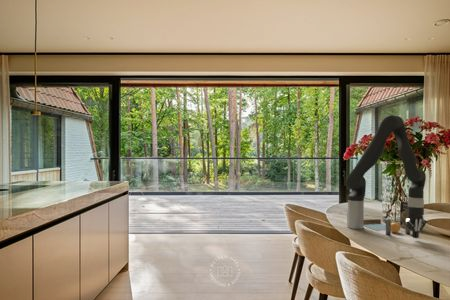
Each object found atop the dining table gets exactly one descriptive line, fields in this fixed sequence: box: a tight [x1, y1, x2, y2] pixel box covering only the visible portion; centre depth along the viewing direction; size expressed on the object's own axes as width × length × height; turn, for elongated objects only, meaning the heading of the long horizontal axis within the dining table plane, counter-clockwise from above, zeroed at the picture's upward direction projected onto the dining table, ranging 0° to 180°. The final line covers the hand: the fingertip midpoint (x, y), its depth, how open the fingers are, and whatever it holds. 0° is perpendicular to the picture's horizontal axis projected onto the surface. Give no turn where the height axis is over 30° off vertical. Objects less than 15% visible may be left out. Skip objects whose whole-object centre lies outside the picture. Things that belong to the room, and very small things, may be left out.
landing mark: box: [363, 223, 386, 232], centre depth 206 cm, size 14×14×1 cm
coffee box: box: [399, 200, 409, 228], centre depth 206 cm, size 9×6×16 cm
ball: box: [391, 221, 401, 234], centre depth 193 cm, size 6×6×6 cm
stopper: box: [363, 218, 382, 225], centre depth 216 cm, size 2×18×2 cm, turn 102°
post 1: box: [385, 218, 392, 236], centre depth 188 cm, size 3×3×9 cm
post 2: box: [404, 218, 412, 235], centre depth 190 cm, size 3×3×9 cm
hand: (415, 237), depth 176 cm, fingers closed
